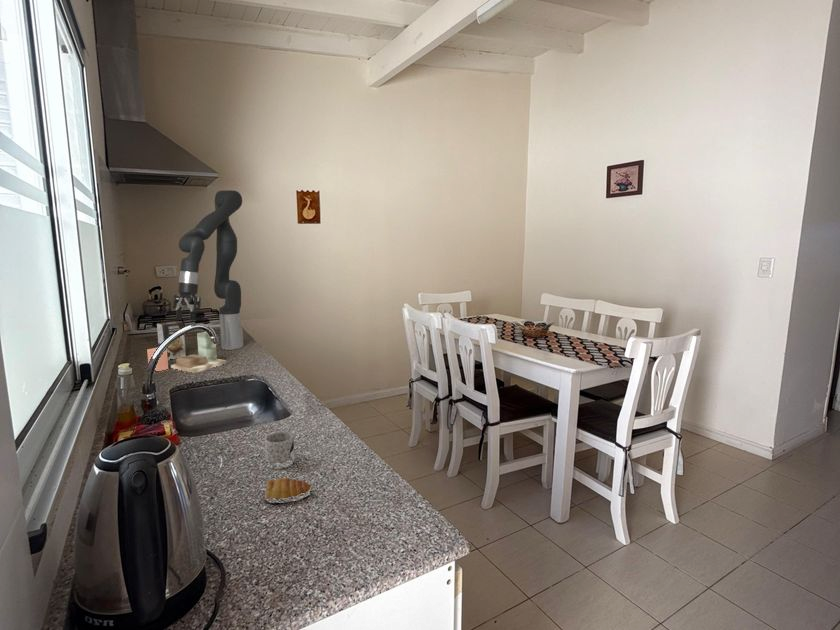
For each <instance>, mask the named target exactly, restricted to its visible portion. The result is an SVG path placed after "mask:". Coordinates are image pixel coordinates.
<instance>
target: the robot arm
mask: <svg viewBox="0 0 840 630" xmlns="http://www.w3.org/2000/svg"><path fill="white" fill-rule="evenodd" d="M242 205H243V197H242V194H241V193H240V192H239V191H237V190H234V189H233V190H232V189H231V190H230V189H229V190H227V189H226V190H223V189H222V190H218V191H217V192H216V193H215V195H214V210H213V211H212V212H210V213H209V214H207V215H205V216H204V217H203V218H201V220H200V221H199V222H198V223H197V224H196V226H195V227H193V228H192V229H190V230H189V231H188V232H186V233H185V234H184V235H183V236H181V238H180V239H179V241H178V248H179V250H180V251H181V252H183V253H188V256H186V257H184V258H182V259H181V262H180V272H179V278H178V288H177V289H178V290H177V292H178V293H179V294H175V295H174V296H173V304H172V308H173V309H174V310H175V312H176V313H175V319H177V320H182V318H183V309H184V308H185V307H187V308H188V309H189V311H190V312H189V321H192V322H193V321H196V317H197V312H200V311H201V303H202V302H201V300H202V299H201V297H200V296H196V295H197V294H198V288H199V270H200V269H199V268H200V262H201V260H202V258H203V257H202V256H203V254H204V252H205V248H206V247H205V246H206V245H205V242H204V241H206V240H208V239H209V238H210V237H211V236H212V235H213V234H214V232H215V231H216V241H215V243H216V247H215V249H216V259H215V260H216V261H215V264H216V265H215V266H216V267H215V277H214V282H213V283H214V286H213V287H214V288H213V291H214V294H215V296H216V297H217V298H218V299H222V300H224V304H223V306H221V307H219V309H218V313H219V314H218V315H219V326H220V342H221V343H220V345H221V350H224V349H225V351H226V350H227V351H231V350H234V351H235V350H239V349H241V348H244V335H243V333H244V332H243V327H241V307H242V288H241V285H240V283H239V282H238V281H236V280H233V279H230V270H231V267H232V265H233V263H234V261H235V259H236V256H237V253H238V239H237V238H238V237H237V235H236V233H235V230H234V229H233V227H232V225H231V222H230V218H229V217H230V216H231V215H233V214H235V213H236V212H237V211H238V210H239V209H240V208H241V207H242Z"/></svg>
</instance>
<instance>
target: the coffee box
mask: <svg viewBox="0 0 840 630" xmlns="http://www.w3.org/2000/svg"><path fill="white" fill-rule="evenodd" d="M156 328H157V342H158V343H157V345H158V347H159V345H160V344H161V343H162V342H163V341H164V340H165V339H166V338H167V337H169V336H170V335H171V334H173V333H174V332H176V331H178V330H179V329H182V328H184V329H185V327H184V321H178V320H177V321H176V320H175V321H166V322H159V323H158V322H157V323H156ZM185 340H186V339H185V334H184V335H182V336H180V337H179V338H177V339H176V340H174V341H173V342H172V343H171V344H170V345H169V346H168V348H167V358H168V361H171V360H170V359H173V360H176V358H181V357H185V356H187V355H186V354H187V353H186V341H185Z"/></svg>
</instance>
